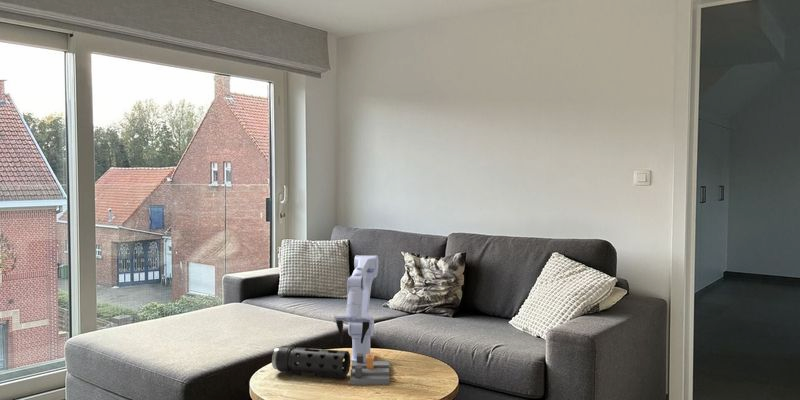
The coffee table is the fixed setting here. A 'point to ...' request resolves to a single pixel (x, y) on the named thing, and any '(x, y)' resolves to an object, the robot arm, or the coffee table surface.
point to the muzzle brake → (311, 361)
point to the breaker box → (369, 372)
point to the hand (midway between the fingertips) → (351, 342)
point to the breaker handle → (370, 361)
